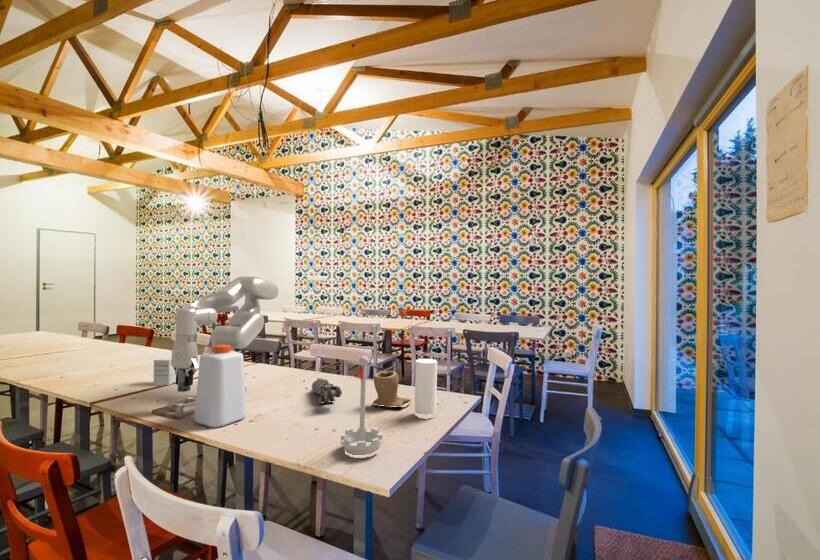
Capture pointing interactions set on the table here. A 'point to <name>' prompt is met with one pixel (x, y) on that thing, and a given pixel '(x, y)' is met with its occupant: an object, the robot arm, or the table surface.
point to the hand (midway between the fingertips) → (184, 384)
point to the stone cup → (388, 389)
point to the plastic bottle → (220, 388)
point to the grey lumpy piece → (326, 390)
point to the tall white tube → (425, 385)
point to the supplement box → (163, 372)
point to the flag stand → (361, 425)
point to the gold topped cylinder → (182, 380)
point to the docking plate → (178, 408)
